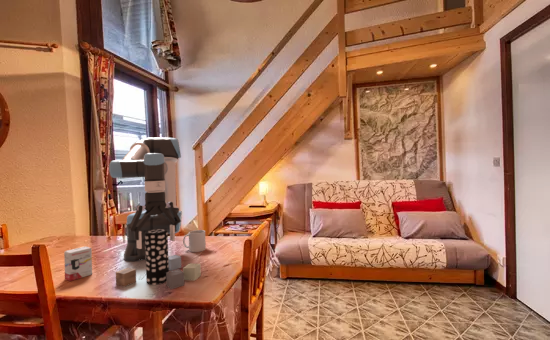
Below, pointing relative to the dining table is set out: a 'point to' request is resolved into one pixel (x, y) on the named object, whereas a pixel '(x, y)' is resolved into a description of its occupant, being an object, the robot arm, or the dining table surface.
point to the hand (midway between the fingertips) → (156, 244)
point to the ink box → (78, 263)
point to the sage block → (192, 271)
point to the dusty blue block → (174, 262)
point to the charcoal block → (175, 278)
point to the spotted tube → (156, 256)
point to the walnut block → (125, 277)
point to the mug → (196, 241)
